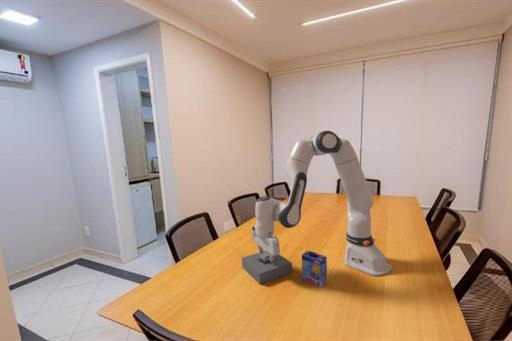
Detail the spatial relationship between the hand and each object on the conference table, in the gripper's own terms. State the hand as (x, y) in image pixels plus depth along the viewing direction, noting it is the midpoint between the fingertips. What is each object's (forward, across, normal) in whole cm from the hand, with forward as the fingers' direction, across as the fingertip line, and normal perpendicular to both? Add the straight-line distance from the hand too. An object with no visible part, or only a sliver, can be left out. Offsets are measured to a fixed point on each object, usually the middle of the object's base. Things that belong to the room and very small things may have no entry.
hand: (266, 257), depth 121 cm
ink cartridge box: (+7, -20, -13) cm, 25 cm away
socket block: (+7, 0, 0) cm, 7 cm away
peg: (+7, 0, 0) cm, 7 cm away
